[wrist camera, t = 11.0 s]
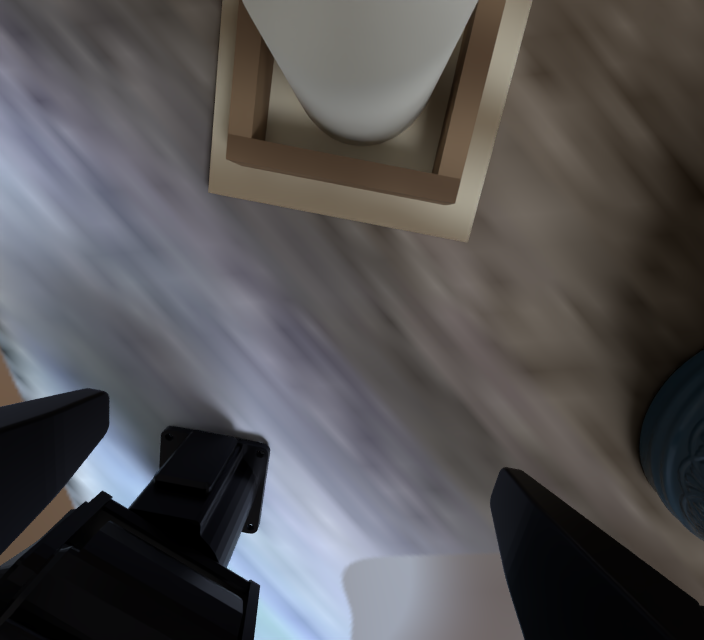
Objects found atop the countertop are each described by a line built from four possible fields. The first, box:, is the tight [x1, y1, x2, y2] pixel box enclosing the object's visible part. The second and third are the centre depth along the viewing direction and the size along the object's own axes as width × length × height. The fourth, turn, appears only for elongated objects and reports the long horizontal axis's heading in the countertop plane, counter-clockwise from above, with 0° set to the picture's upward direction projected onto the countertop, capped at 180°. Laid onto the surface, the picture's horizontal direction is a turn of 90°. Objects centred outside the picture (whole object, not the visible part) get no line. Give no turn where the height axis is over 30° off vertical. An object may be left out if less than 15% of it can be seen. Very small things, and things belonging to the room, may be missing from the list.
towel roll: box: [242, 0, 478, 146], centre depth 12 cm, size 6×6×8 cm
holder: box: [208, 0, 532, 243], centre depth 15 cm, size 13×13×3 cm
